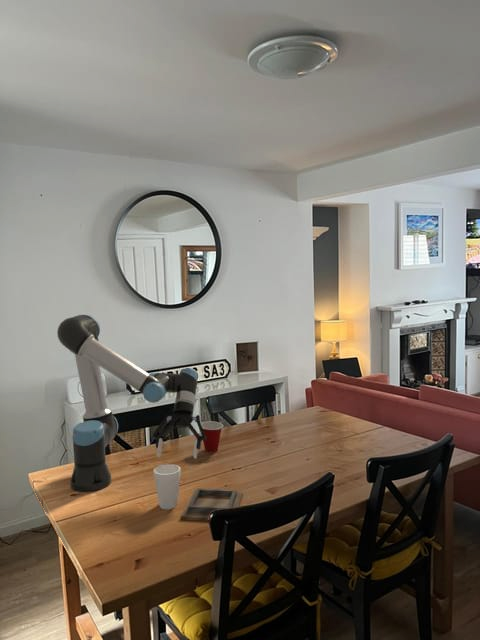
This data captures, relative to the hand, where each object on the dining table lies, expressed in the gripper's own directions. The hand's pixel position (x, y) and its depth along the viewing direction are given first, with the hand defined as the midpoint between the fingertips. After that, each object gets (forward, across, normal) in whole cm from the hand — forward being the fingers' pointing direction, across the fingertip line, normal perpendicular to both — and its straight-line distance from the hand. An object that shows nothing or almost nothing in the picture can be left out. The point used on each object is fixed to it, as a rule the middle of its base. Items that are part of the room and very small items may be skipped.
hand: (176, 456), depth 192 cm
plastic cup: (-22, -4, -43) cm, 48 cm away
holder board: (+17, -15, -3) cm, 23 cm away
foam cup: (+17, +1, -3) cm, 17 cm away
